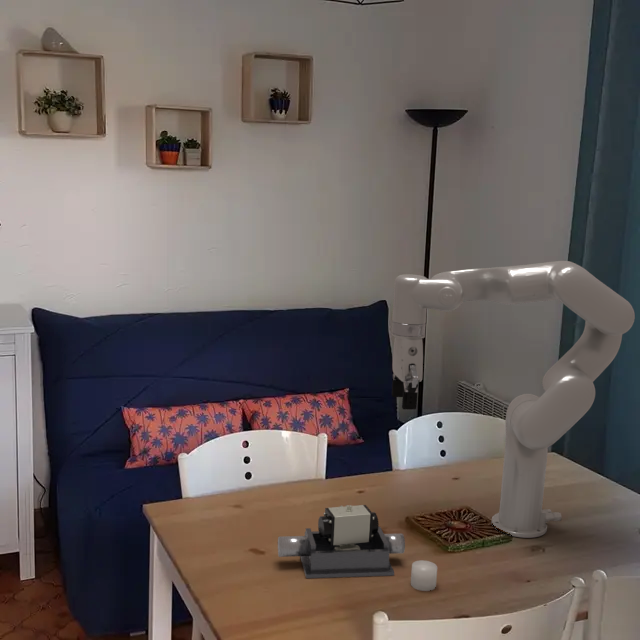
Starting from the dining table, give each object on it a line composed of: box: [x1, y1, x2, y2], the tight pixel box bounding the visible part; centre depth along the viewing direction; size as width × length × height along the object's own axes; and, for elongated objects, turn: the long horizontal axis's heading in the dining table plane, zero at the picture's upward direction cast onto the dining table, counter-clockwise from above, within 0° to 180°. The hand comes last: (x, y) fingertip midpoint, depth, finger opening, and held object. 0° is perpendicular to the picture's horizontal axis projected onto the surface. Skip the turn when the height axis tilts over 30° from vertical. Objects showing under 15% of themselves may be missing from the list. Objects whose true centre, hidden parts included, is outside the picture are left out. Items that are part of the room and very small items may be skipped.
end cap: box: [410, 559, 438, 592], centre depth 166 cm, size 5×5×4 cm
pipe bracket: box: [277, 526, 406, 579], centre depth 174 cm, size 26×12×6 cm, turn 99°
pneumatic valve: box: [317, 504, 380, 551], centre depth 173 cm, size 6×12×12 cm, turn 107°
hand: (403, 402), depth 192 cm, fingers open, 9 cm apart
